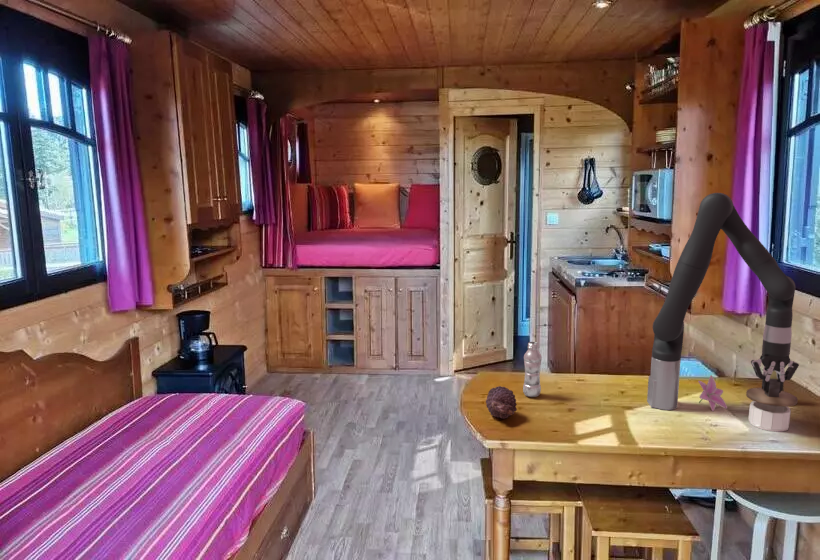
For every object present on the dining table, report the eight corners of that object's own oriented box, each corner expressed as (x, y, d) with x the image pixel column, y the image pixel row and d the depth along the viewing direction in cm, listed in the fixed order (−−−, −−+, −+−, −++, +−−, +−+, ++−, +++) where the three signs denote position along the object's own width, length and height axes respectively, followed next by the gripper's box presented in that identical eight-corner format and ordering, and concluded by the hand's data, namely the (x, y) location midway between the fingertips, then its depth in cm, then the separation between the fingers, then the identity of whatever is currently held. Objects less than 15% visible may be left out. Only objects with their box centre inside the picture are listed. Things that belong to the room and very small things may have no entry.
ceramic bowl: (757, 430, 187) (759, 412, 186) (743, 416, 198) (744, 399, 197) (795, 432, 186) (797, 414, 185) (778, 418, 196) (780, 401, 195)
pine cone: (480, 406, 208) (480, 379, 207) (507, 405, 209) (508, 377, 208) (492, 427, 191) (493, 397, 189) (522, 425, 192) (523, 396, 190)
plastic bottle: (543, 394, 219) (545, 342, 216) (536, 400, 213) (538, 346, 210) (526, 391, 223) (528, 339, 219) (519, 397, 217) (521, 344, 213)
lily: (691, 413, 204) (707, 394, 199) (680, 389, 214) (695, 370, 209) (722, 422, 205) (739, 403, 200) (710, 398, 215) (726, 379, 210)
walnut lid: (757, 405, 184) (759, 387, 183) (739, 389, 198) (740, 372, 197) (806, 407, 182) (808, 388, 181) (784, 391, 196) (786, 373, 195)
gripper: (758, 342, 184) (753, 395, 187) (807, 343, 182) (801, 396, 185) (748, 335, 192) (743, 386, 194) (795, 336, 190) (789, 388, 193)
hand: (772, 391), depth 190 cm, fingers closed on walnut lid, 3 cm apart
